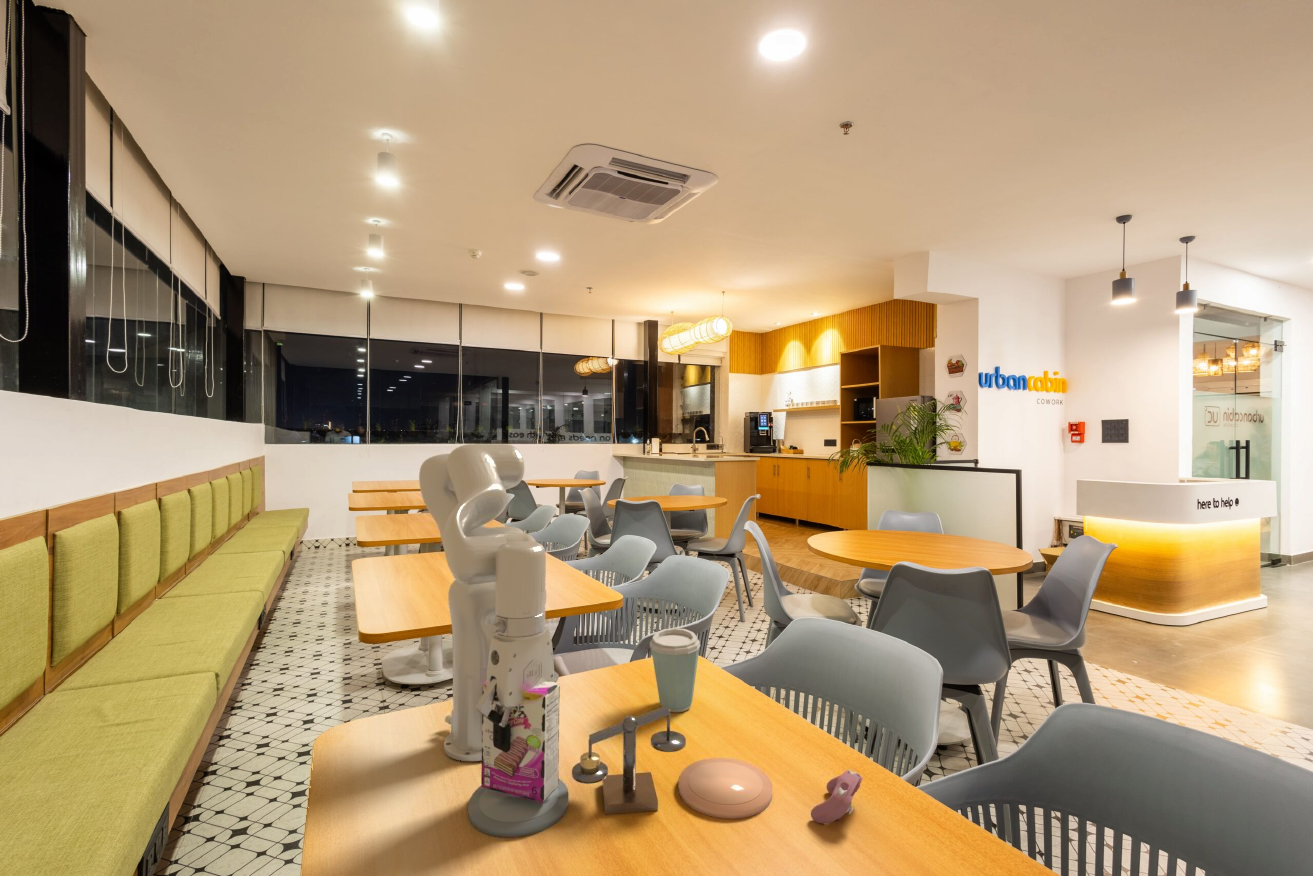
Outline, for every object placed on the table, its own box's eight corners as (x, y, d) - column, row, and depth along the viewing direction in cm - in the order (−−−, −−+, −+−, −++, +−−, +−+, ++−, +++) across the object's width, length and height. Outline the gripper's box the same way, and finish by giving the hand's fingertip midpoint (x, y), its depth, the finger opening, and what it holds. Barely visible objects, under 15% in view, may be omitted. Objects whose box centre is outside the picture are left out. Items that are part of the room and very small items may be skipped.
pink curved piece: (834, 841, 90) (856, 806, 88) (806, 818, 92) (828, 783, 90) (851, 807, 98) (872, 773, 97) (825, 786, 100) (845, 753, 99)
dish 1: (447, 811, 94) (447, 802, 94) (523, 768, 106) (523, 760, 106) (513, 852, 85) (513, 842, 85) (588, 800, 97) (588, 792, 97)
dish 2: (660, 794, 98) (660, 786, 98) (709, 755, 110) (710, 748, 110) (743, 832, 89) (743, 823, 89) (788, 785, 101) (788, 777, 101)
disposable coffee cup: (701, 718, 125) (702, 644, 125) (648, 717, 125) (648, 643, 125) (698, 695, 136) (699, 627, 135) (649, 695, 136) (650, 626, 136)
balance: (571, 817, 92) (572, 724, 92) (571, 787, 100) (572, 701, 100) (689, 808, 95) (690, 717, 95) (680, 779, 103) (681, 695, 103)
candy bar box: (479, 790, 95) (480, 683, 95) (497, 773, 99) (498, 671, 99) (543, 805, 91) (544, 694, 91) (560, 786, 96) (561, 681, 96)
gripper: (490, 643, 86) (489, 772, 86) (577, 614, 100) (576, 726, 100) (457, 632, 90) (456, 755, 90) (545, 606, 104) (544, 713, 104)
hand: (519, 738), depth 95 cm, fingers closed on candy bar box, 6 cm apart
